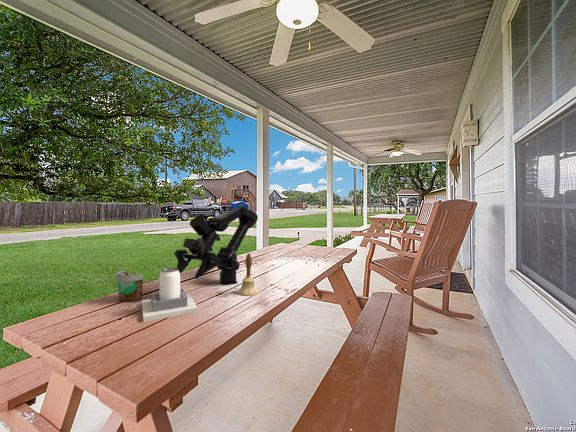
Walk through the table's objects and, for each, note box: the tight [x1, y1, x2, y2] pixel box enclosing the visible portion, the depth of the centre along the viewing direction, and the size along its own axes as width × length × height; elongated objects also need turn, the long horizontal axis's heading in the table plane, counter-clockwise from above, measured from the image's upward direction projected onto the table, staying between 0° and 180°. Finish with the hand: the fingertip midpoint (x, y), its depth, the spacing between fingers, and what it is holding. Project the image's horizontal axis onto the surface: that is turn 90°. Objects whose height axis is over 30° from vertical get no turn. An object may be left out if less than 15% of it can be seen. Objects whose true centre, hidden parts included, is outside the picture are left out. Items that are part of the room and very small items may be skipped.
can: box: [158, 267, 181, 301], centre depth 94 cm, size 6×6×12 cm
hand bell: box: [237, 252, 259, 297], centre depth 112 cm, size 8×8×16 cm
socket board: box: [141, 288, 199, 323], centre depth 95 cm, size 16×16×4 cm
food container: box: [114, 269, 145, 303], centre depth 102 cm, size 12×6×10 cm, turn 62°
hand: (185, 276), depth 101 cm, fingers open, 9 cm apart
